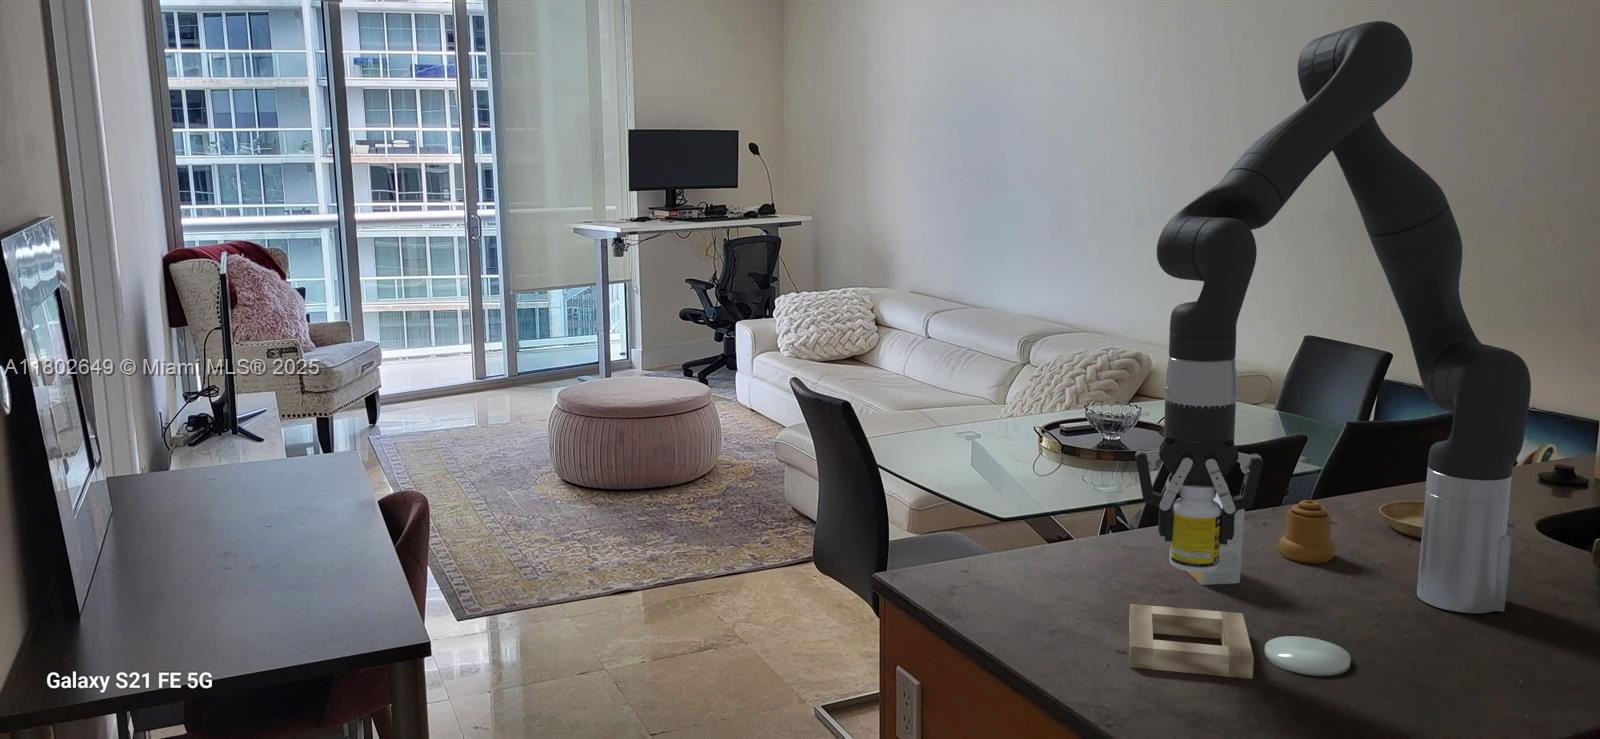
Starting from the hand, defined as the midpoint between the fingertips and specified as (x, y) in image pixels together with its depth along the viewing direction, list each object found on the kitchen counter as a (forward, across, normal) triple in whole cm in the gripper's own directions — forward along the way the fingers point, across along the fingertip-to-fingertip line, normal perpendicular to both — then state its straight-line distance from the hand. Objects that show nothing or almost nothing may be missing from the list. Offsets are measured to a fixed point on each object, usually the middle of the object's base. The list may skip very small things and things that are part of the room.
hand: (1195, 540), depth 135 cm
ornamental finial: (+14, -18, -37) cm, 44 cm away
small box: (+14, -4, -26) cm, 30 cm away
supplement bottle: (+3, 0, 0) cm, 3 cm away
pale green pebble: (+13, -13, 0) cm, 18 cm away
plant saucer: (+14, -38, -54) cm, 68 cm away
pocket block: (+13, 0, 0) cm, 13 cm away
